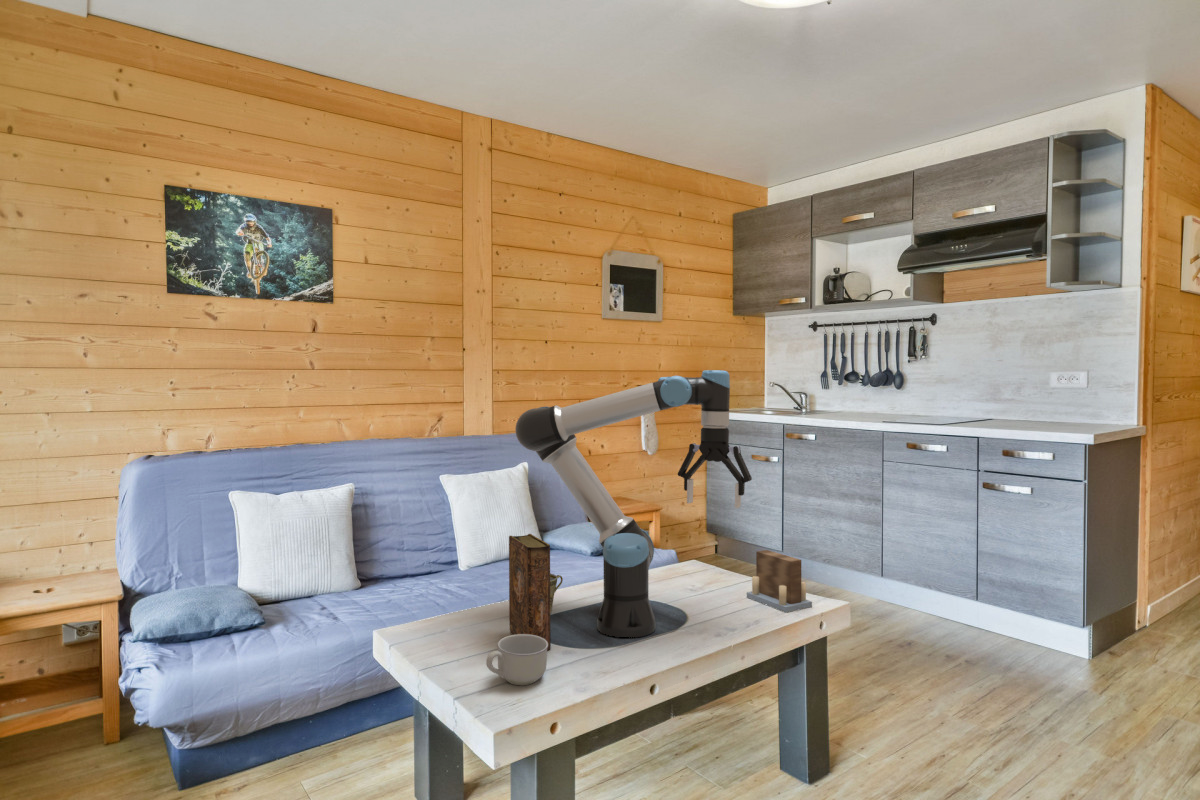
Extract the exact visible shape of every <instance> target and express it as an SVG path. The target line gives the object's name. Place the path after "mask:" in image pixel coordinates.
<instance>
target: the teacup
mask: <svg viewBox="0 0 1200 800" xmlns="http://www.w3.org/2000/svg"><path fill="white" fill-rule="evenodd" d="M547 648H548V643H547V641H546V640H545V639H544V638H541V637H539V636H536V635H529V634H518V635H512V634H511V635H508V636H505V637H503V638H501V639H499V641H497V650H494V651H491V652H490V653H489V654H488V656H487V657H486V668H488V670H489V671H490V672H492V673H494V674H496V675H498V677H499V678H502V679H504V680H506V682H508V683H509V684H512V685H516V686H529V685H531V684H533V683H535V682H537V681H538V680H540V679H541V678H542V677H543V675H544V674H545V672H546V669H547V663H548V652H547ZM496 657H497V668H495V667H494V665H493V660H494V659H495V658H496Z"/></svg>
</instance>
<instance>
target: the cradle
mask: <svg viewBox="0 0 1200 800" xmlns="http://www.w3.org/2000/svg"><path fill="white" fill-rule="evenodd" d="M751 583H752V584H751V586H752V587H751V588H752V589H751V591H747V592H746V598H747V597H748V598H747V599H749V598H751V599H750V600H752V599H754V600H753V601H755V600H756V601H755V602H757V601H759V602H758V603H760V602H762V603H764V604H763V605H765V604H767V605H769V606H768V607H770V606H772V607H771V608H773V607H774V608H773V609H775V608H777V609H776V610H778V609H779V610H778V611H780V610H782V611H781V612H783V611H784V612H783V613H786V612H787V613H790V612H789V611H791V612H795V611H794V610H796V611H799V610H798V609H800V610H803V609H802V608H805V609H809V608H812V607H813V600H808V599H807V583H806V581H801V602H800V603H796V604H788V603H786V586H784V585H780V586H779V600H777V599H775V598H772V597H769V596H767V595H764V594H761V593H759V577H758V576H756V575H755V576H752V578H751ZM762 603H761V604H762ZM767 605H766V606H767ZM808 607H809V608H808Z"/></svg>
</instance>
